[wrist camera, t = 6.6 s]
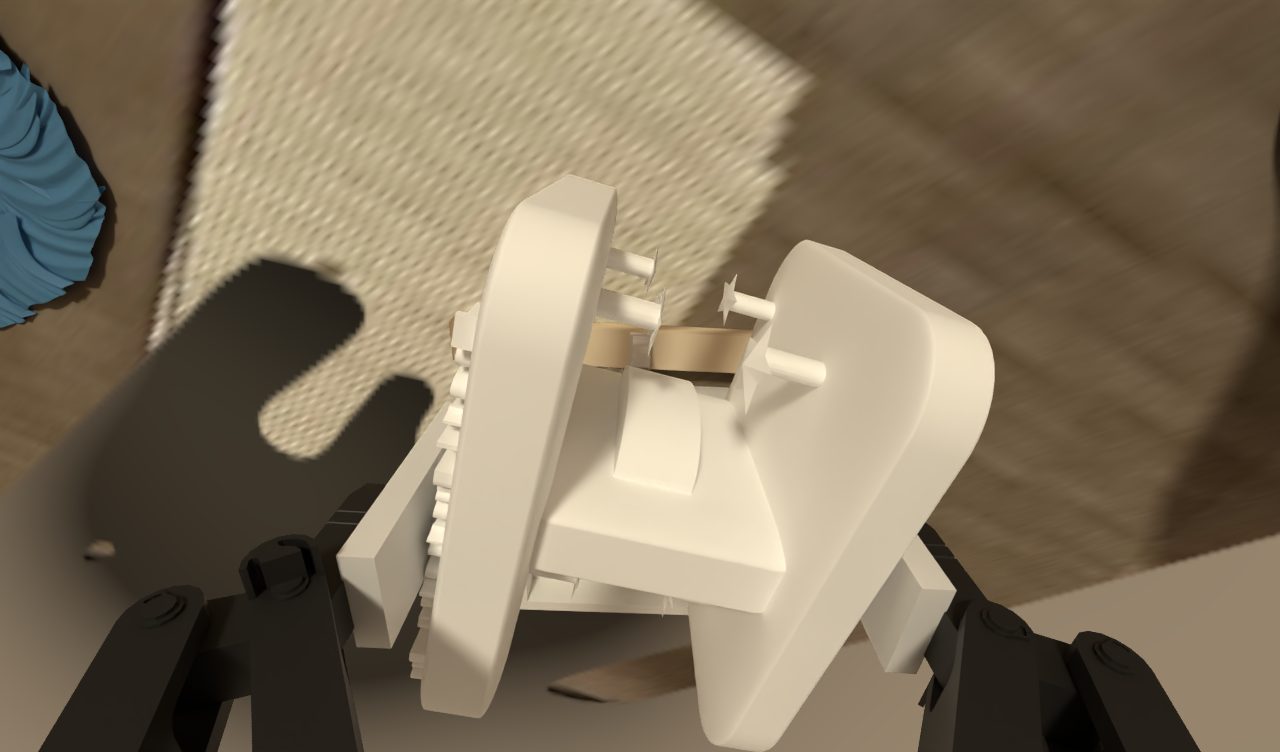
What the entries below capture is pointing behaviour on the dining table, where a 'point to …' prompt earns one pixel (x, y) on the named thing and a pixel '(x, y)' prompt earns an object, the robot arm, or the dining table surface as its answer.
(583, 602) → the holder tray
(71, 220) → the blue wave plaque
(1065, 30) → the dining table surface
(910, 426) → the cable organizer
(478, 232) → the dining table surface
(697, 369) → the cable clip rail
